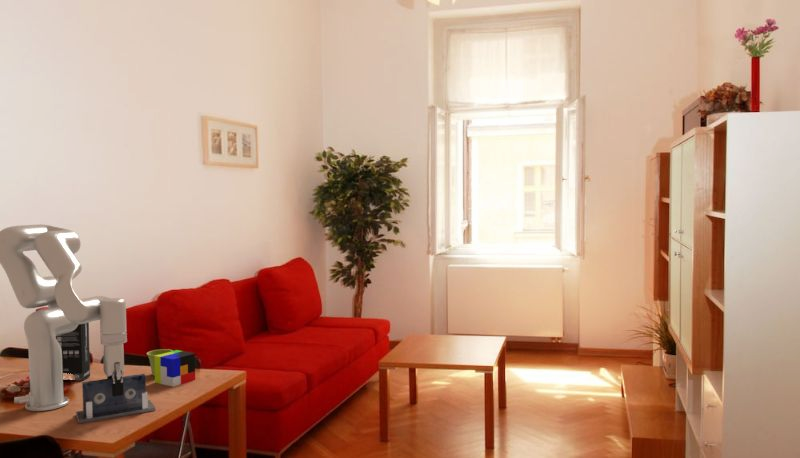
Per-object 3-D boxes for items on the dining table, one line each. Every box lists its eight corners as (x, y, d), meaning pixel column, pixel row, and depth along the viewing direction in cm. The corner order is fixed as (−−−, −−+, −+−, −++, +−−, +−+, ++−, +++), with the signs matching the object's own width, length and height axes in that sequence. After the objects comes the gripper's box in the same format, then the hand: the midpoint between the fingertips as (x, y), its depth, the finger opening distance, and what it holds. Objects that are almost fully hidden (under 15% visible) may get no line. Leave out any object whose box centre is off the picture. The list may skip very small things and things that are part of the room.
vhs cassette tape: (145, 403, 213) (144, 373, 212) (146, 405, 210) (146, 375, 210) (82, 413, 204) (81, 381, 203) (83, 416, 201) (82, 384, 201)
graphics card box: (92, 376, 248) (89, 305, 247) (83, 381, 241) (81, 308, 240) (46, 377, 248) (43, 305, 246) (36, 382, 241) (33, 309, 239)
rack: (79, 423, 197) (78, 404, 197) (75, 415, 205) (75, 396, 205) (155, 410, 209) (154, 392, 209) (149, 402, 217) (149, 385, 216)
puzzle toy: (173, 386, 235) (172, 359, 234) (155, 382, 240) (154, 355, 240) (195, 380, 243) (194, 353, 243) (177, 376, 249) (176, 350, 248)
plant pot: (141, 376, 248) (141, 353, 248) (159, 370, 257) (159, 348, 256) (161, 378, 245) (160, 355, 244) (178, 372, 253) (178, 350, 253)
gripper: (97, 334, 211) (98, 386, 212) (104, 344, 196) (106, 401, 197) (122, 331, 215) (123, 383, 216) (131, 341, 200) (132, 396, 201)
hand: (115, 391), depth 207 cm, fingers open, 9 cm apart
